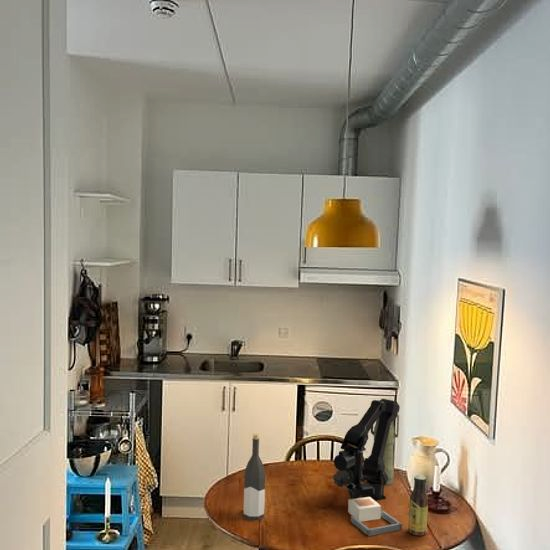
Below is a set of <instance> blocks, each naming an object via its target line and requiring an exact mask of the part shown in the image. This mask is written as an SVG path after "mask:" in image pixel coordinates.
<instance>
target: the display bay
mask: <svg viewBox="0 0 550 550" xmlns="http://www.w3.org/2000/svg"><path fill="white" fill-rule="evenodd" d="M381 518H383V519H384V520H385V521H387V522H388V523H390V524H387V525H383V526H378V527H377V526H376V527H372V528H369V527H368V526H367V525H366V524H364V523H363V521H362V522H360V521H359V520H358V519H356V518H355V517H354V516H352V515H351V516H350V523H351V522H352V524H353V525H354V526H355V527H357V529H358V530H360V531H361V532H363V533H364V534H365V535H367V537H371V536H375V535H381V534H387V533H391V532H396V531H402V530H403V523H402V522H400V521H399V520H397V519H396V518H395V517H393V516H391V514H389V513H387V512H386V511H385V510H381Z"/></svg>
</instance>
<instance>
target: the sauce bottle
mask: <svg viewBox="0 0 550 550" xmlns="http://www.w3.org/2000/svg"><path fill="white" fill-rule="evenodd" d="M413 477H414V478H413V480H414V482H413V483H414V486H413V489H412V492H411V495H410V496H409V504H408V505H409V506H408V532H409V533H410V534H412V535H414V536H425V535H426V532H427V529H428V528H427V526H428V525H427V523H428V511H429V510H428V509H429V505H428V503H429V496H428V494H427V492H426V483H427V476H425V475H422V474H416V475H414V476H413Z"/></svg>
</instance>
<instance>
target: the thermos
mask: <svg viewBox="0 0 550 550" xmlns="http://www.w3.org/2000/svg"><path fill="white" fill-rule="evenodd" d="M378 400H379V401H380V400H381V399H378ZM378 423H379V417H378V419H377V420H376V422H375V423H374V425H373V426H372V428H371V429H370V433H371V435H372V436H373V440H374V439H375V435H376V431H377V427H378ZM399 425H400V415H399V413H398V414H397V417H396V429H395V421H393V422H392V423H391V425H390V430H389V434H388V438H387V443H386V447H385V451H384V455H383V461H384V464H385V473H386V474H387V476H388V482H387V483H386V485H384V487H385V486H386V487H387V486H391V485H393V483H394V474H395V473H394V472H395V468H394V464H393V463H394V445H395V442H396V441H395V440H396V438H399V430H400V428H399V427H400V426H399Z"/></svg>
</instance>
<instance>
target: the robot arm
mask: <svg viewBox="0 0 550 550" xmlns="http://www.w3.org/2000/svg"><path fill="white" fill-rule="evenodd" d="M379 400H380V401H379ZM400 407H401V406H400V404H399V403H398V401H397V400H391V399H388V398H381V399H372V401H371V403H370V406H369V407H368V409H367V410H366V411H365V413H364V415H362V417H361V418H360V420H359V422H358V423H357V424H355V425H353V426H351V427H350V428H349V429H348V431H347V432H346V433H345V435H344V438H343V441H342V443H341V445H340V450H339V451H338V454H337V455H335V457H334V459H333V465H334V467H335V469H336V470H337V472H335V474H333V475H332V478H333V481H334V484H335V485H336V486H338V488H342V487H345V488H346V489H347V491H348V494H349V497H350V498H349V499H356V498H361V497H362V496H365V497H371V498H372V499H373V500H374V501H377V500H383V499H386V498H387V496H385V494H384V492H385V486H384V485H386V483H387V482H388V476H387V474H386V473H385V464H384V461H383V455H384V451H385V447H386V443H387V438H388V434H389V430H390V425H391V423H392V422H395V420H397V414H398V415H399V412H400V409H401V408H400ZM378 417H379V423H378V427H377V431H376V435H375V439H374V438H373V444H372V449H371V453H370V455H369V456H368V457H365V458H364V451H367V449H366V447H365V446H366V444H367V442H368V440H369V433H370V432H371V428H372V426H373V427H374V426H375V424H376V420H377V419H378ZM365 481H366V482H365ZM364 482H365V483H364Z"/></svg>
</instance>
